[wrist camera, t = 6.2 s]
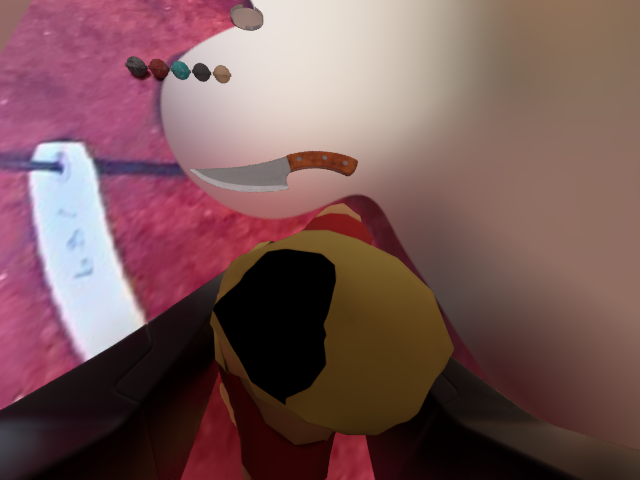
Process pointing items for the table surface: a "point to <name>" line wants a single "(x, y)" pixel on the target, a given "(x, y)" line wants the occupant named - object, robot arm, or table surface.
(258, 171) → the knife
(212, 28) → the table surface
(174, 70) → the beads
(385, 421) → the action figure
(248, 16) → the grey flat disc
